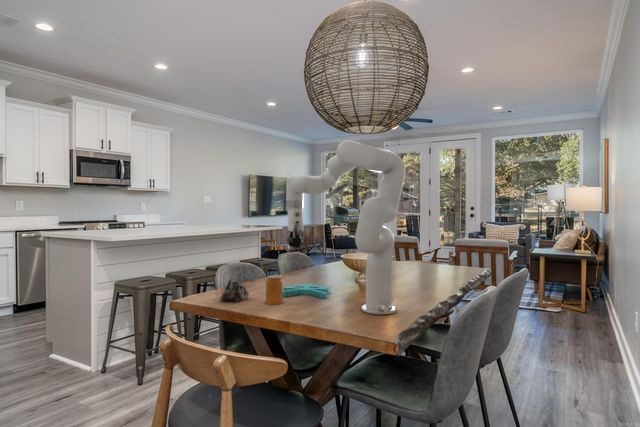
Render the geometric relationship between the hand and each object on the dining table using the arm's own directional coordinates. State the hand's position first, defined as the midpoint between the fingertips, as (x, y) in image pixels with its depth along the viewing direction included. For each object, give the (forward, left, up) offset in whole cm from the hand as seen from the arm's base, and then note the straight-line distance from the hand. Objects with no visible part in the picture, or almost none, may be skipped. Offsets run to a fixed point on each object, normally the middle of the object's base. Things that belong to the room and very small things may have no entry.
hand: (294, 246), depth 177 cm
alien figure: (+5, -7, -22) cm, 23 cm away
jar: (-10, +10, -22) cm, 26 cm away
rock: (-1, +25, -22) cm, 33 cm away
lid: (0, 0, +3) cm, 3 cm away
